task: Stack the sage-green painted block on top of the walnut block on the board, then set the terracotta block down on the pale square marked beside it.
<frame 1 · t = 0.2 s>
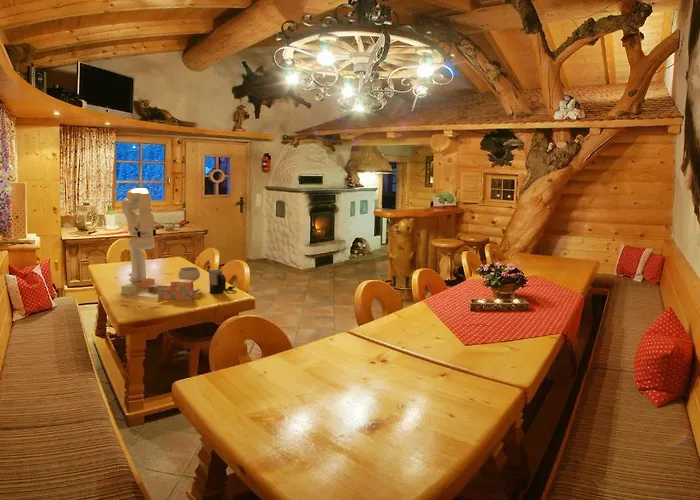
hand: (146, 236, 332), 37 cm above the table, tool pointing down, fingers open, 9 cm apart
walnut block: (155, 291, 331), resting on board
board: (151, 294, 328), on the table
stack of blocks: (176, 299, 318), on the table
milk frother: (222, 292, 336), on the table
chalice: (189, 290, 338), on the table
sage block: (128, 294, 326), on the table
terracotta block: (148, 287, 343), on the table
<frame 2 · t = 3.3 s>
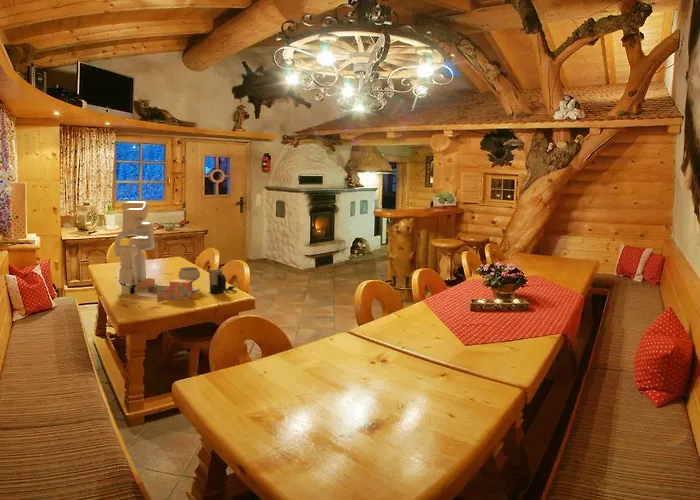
hand: (128, 292, 326), 1 cm above the table, tool pointing down, fingers closed on sage block, 6 cm apart
sage block: (129, 294, 326), on the table, touching gripper
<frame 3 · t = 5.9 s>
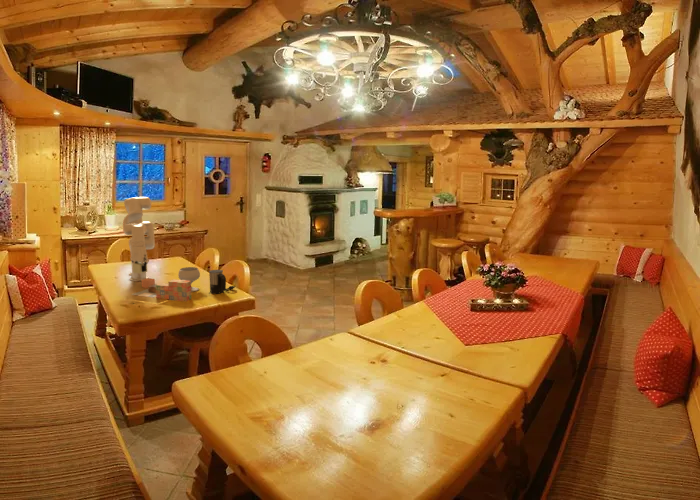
hand: (140, 270, 326), 16 cm above the table, tool pointing down, fingers closed on sage block, 6 cm apart
sage block: (140, 272, 326), point 15 cm above the table, touching gripper
when the fingers open (6 cm above the table, at t = 8.6 s): sage block stays where it is, resting on walnut block.
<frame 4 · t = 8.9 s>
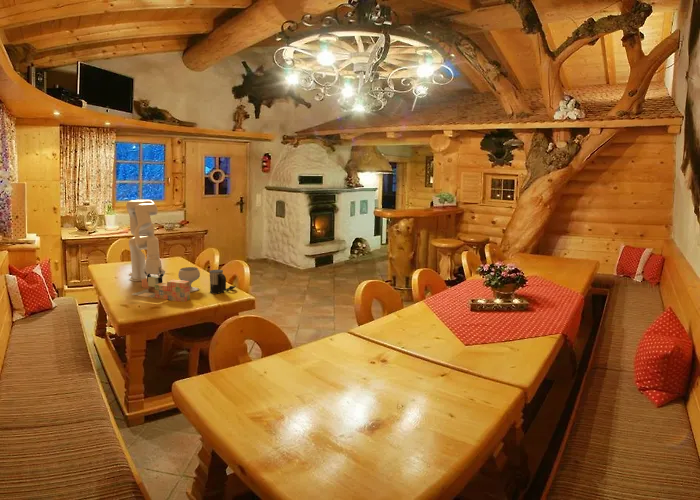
hand: (154, 282, 330), 7 cm above the table, tool pointing down, fingers open, 9 cm apart
sage block: (155, 285, 330), point 5 cm above the table, touching walnut block
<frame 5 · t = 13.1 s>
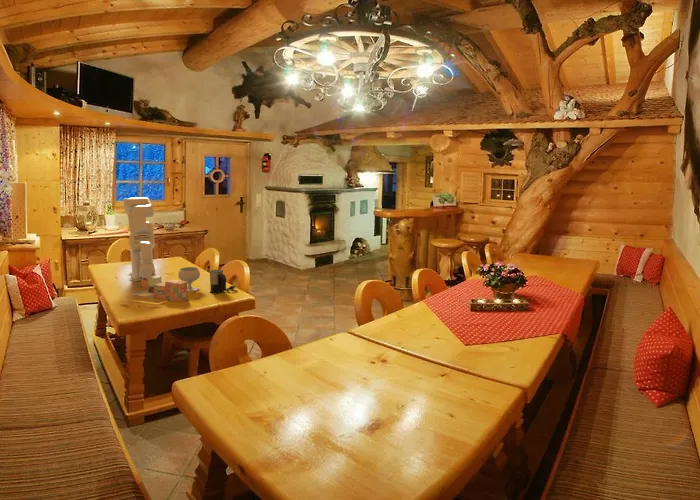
hand: (148, 286, 343), 1 cm above the table, tool pointing down, fingers closed on terracotta block, 6 cm apart
stack of blocks: (171, 299, 317), on the table
terracotta block: (148, 287, 343), on the table, touching gripper
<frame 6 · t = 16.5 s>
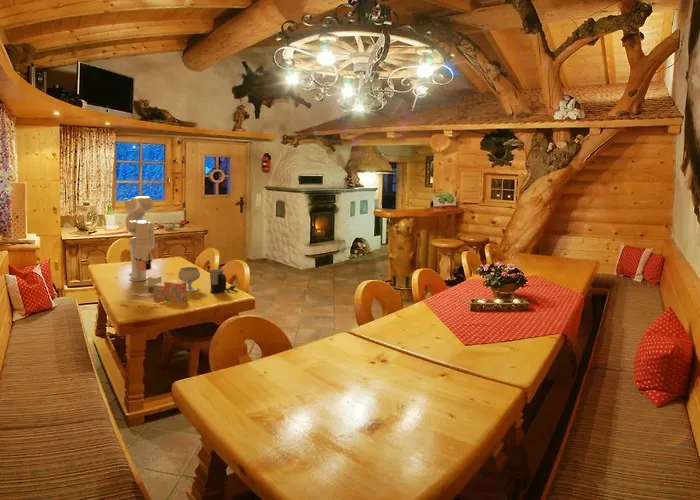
hand: (144, 268, 321), 18 cm above the table, tool pointing down, fingers closed on terracotta block, 6 cm apart
terracotta block: (144, 269, 321), point 17 cm above the table, touching gripper
when the fingers open (2 cm above the table, at t = 20.1 s): terracotta block stays where it is, resting on board.
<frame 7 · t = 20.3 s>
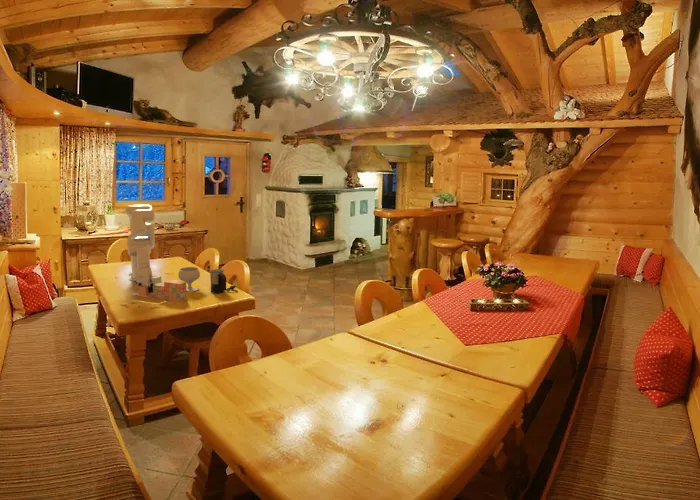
hand: (145, 291, 322), 3 cm above the table, tool pointing down, fingers open, 8 cm apart
terracotta block: (145, 294, 323), point 1 cm above the table, touching board
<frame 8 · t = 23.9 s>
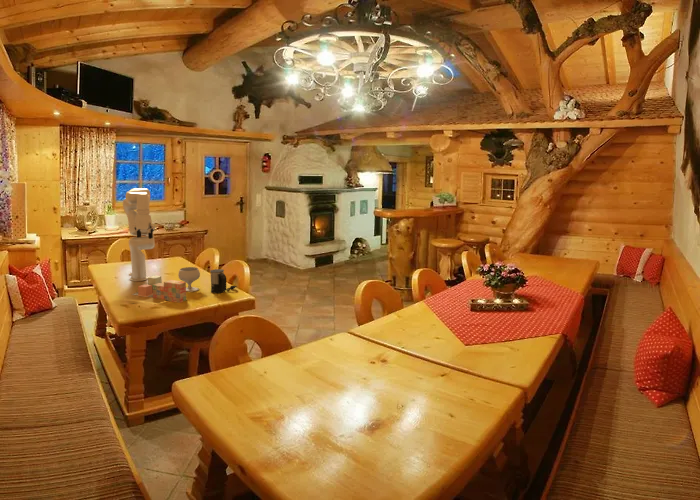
hand: (144, 237, 329), 36 cm above the table, tool pointing down, fingers open, 9 cm apart
at the end: sage block 0.1 cm off-centre on the walnut block, point 4.0 cm above the walnut block's base; sage block tilted 0°; terracotta block inside the target area (0.1 cm from its centre), point 0.9 cm above the table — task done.
